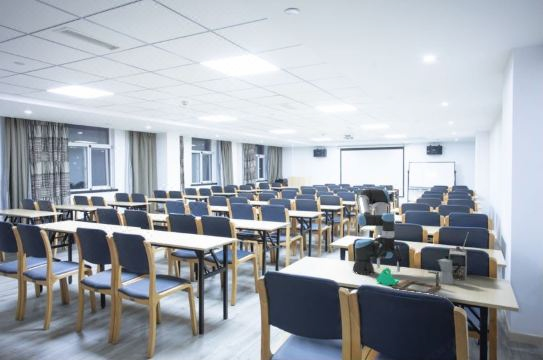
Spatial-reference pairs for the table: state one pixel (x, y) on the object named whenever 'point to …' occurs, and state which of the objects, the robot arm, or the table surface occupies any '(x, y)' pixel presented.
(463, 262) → the portable television
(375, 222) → the robot arm
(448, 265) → the coffee maker
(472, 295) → the table surface
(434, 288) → the open wooden square frame
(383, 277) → the camera mount
